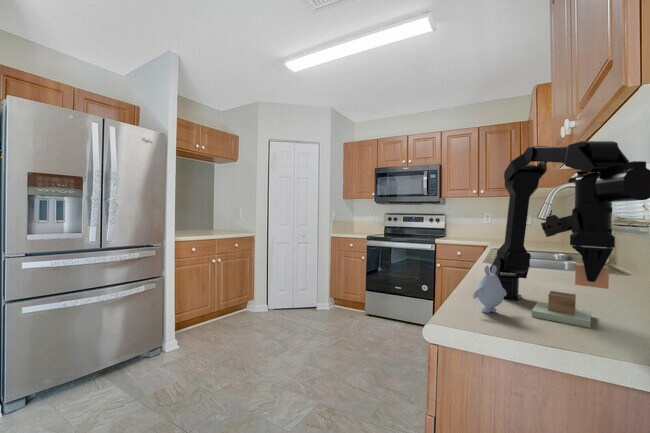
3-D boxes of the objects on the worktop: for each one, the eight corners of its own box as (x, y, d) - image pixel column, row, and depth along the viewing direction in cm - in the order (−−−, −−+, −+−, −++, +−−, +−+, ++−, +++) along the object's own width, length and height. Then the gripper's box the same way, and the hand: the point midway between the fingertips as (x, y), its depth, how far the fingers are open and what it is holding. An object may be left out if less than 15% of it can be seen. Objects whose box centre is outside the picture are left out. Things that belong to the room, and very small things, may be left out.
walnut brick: (550, 306, 80) (550, 290, 80) (575, 310, 77) (575, 294, 76) (548, 310, 76) (548, 294, 76) (574, 315, 73) (574, 298, 73)
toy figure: (495, 307, 83) (496, 262, 83) (516, 314, 77) (517, 266, 77) (463, 310, 80) (464, 264, 80) (482, 318, 74) (483, 268, 74)
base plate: (537, 307, 84) (538, 301, 84) (591, 316, 77) (591, 310, 77) (531, 316, 76) (531, 310, 76) (590, 328, 69) (590, 321, 69)
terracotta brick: (575, 281, 66) (576, 262, 66) (607, 284, 63) (607, 265, 63) (575, 284, 63) (575, 265, 63) (608, 288, 59) (608, 268, 59)
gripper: (549, 205, 75) (548, 269, 75) (538, 201, 61) (537, 280, 61) (611, 204, 68) (610, 275, 68) (615, 200, 54) (614, 289, 54)
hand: (591, 279), depth 63 cm, fingers closed on terracotta brick, 5 cm apart
